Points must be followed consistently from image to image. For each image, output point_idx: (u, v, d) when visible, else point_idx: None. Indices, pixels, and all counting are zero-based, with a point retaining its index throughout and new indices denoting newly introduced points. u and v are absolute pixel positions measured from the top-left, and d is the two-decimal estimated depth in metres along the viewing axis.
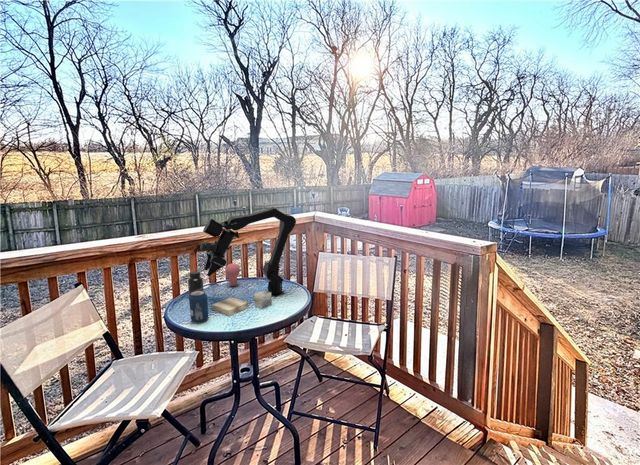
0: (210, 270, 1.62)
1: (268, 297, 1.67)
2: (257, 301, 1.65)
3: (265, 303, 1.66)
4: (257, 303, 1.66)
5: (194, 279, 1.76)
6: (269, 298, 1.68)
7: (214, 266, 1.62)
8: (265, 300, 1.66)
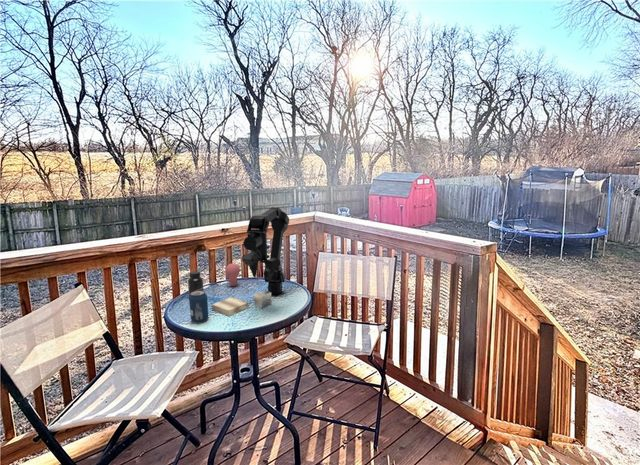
0: (269, 275, 1.61)
1: (268, 297, 1.67)
2: (257, 301, 1.65)
3: (265, 303, 1.66)
4: (257, 303, 1.66)
5: (194, 279, 1.76)
6: (269, 298, 1.68)
7: (270, 270, 1.61)
8: (265, 300, 1.66)
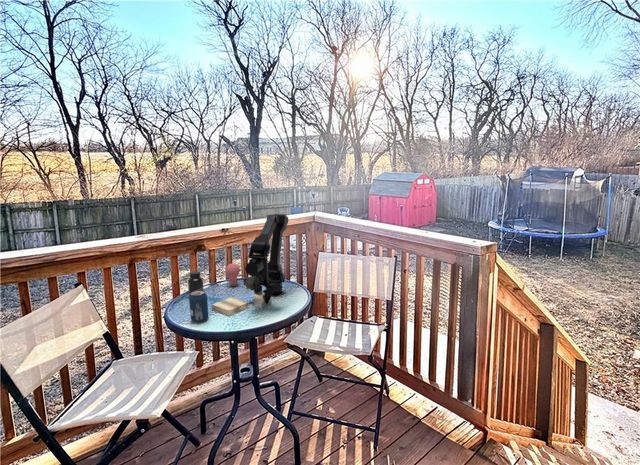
0: (267, 298, 1.65)
1: None
2: (257, 301, 1.65)
3: (265, 303, 1.66)
4: (257, 303, 1.66)
5: (194, 279, 1.76)
6: None
7: (268, 293, 1.65)
8: None
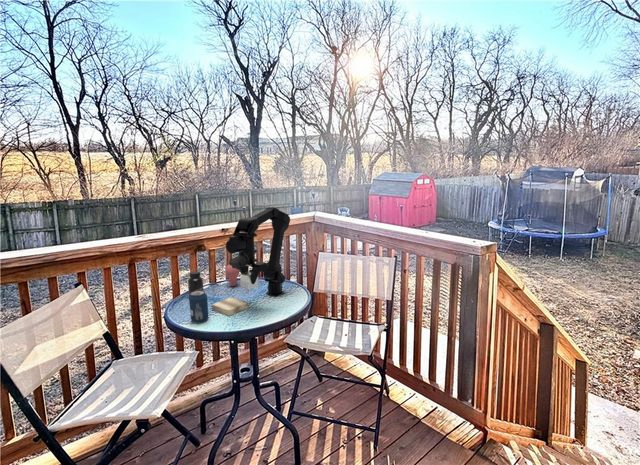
0: (253, 278, 1.62)
1: None
2: (244, 282, 1.62)
3: (252, 284, 1.63)
4: (243, 283, 1.62)
5: (194, 279, 1.76)
6: None
7: (255, 273, 1.61)
8: (251, 280, 1.62)
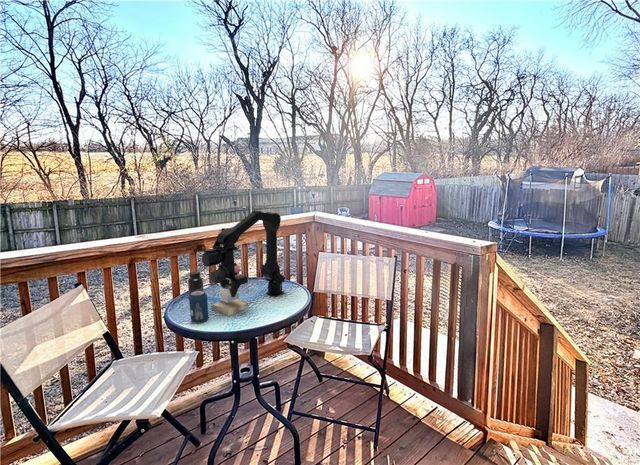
0: (233, 292, 1.61)
1: None
2: (224, 295, 1.61)
3: (232, 297, 1.62)
4: (223, 296, 1.62)
5: (194, 279, 1.76)
6: None
7: (235, 286, 1.61)
8: (231, 293, 1.62)
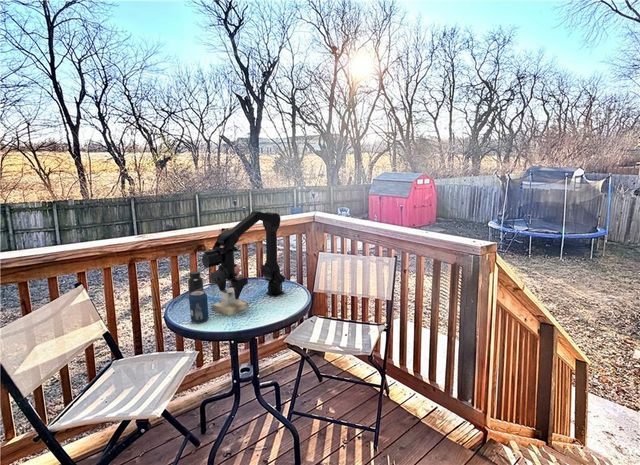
0: (237, 294, 1.60)
1: None
2: (224, 299, 1.62)
3: (232, 301, 1.62)
4: (223, 301, 1.62)
5: (194, 279, 1.76)
6: None
7: (238, 288, 1.60)
8: (232, 298, 1.62)
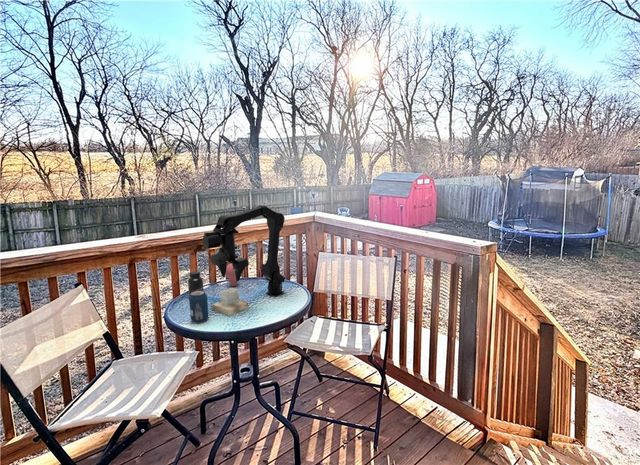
0: (238, 275, 1.61)
1: (235, 295, 1.63)
2: (224, 299, 1.62)
3: (232, 301, 1.62)
4: (223, 301, 1.62)
5: (194, 279, 1.76)
6: (236, 296, 1.64)
7: (239, 270, 1.61)
8: (232, 298, 1.62)
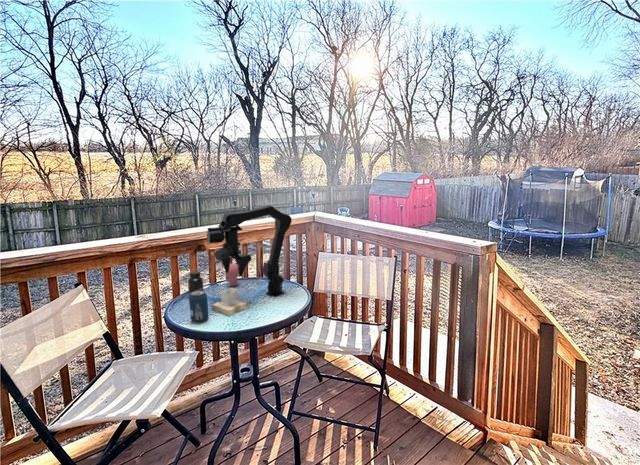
0: (240, 271, 1.67)
1: (235, 295, 1.63)
2: (224, 299, 1.62)
3: (232, 301, 1.62)
4: (223, 301, 1.62)
5: (194, 279, 1.76)
6: (236, 296, 1.64)
7: (241, 265, 1.66)
8: (232, 298, 1.62)
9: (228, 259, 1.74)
